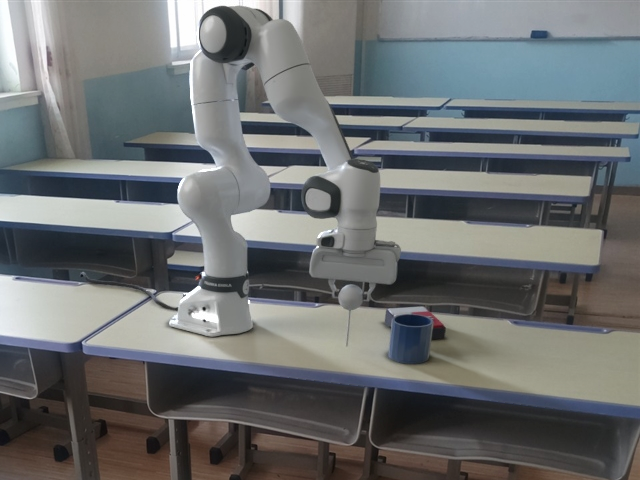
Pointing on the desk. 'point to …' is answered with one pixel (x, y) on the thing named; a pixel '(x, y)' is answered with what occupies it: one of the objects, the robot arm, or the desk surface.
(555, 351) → the desk surface
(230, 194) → the robot arm
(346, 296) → the lollipop
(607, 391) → the desk surface
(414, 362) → the cup
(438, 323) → the calculator
